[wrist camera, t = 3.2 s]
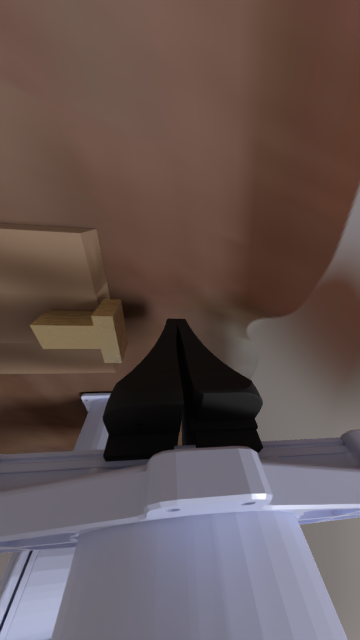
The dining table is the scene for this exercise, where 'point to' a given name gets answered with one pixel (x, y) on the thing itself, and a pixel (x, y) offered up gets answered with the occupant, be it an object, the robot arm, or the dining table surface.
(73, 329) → the key
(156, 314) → the dining table surface
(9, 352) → the board
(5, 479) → the robot arm
